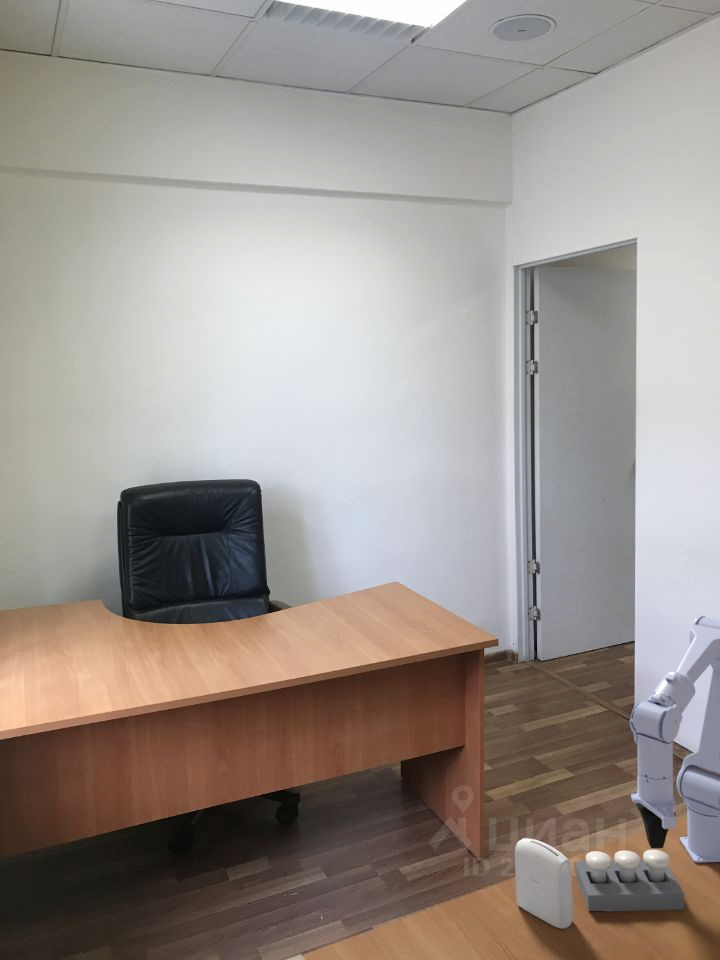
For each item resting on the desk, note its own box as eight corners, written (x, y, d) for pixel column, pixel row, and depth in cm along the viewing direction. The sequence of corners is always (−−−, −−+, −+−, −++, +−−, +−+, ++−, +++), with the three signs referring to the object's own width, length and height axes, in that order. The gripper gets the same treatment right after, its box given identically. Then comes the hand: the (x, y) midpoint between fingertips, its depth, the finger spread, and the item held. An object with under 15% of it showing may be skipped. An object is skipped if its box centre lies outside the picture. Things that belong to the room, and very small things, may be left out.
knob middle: (636, 870, 144) (635, 850, 144) (643, 885, 140) (643, 863, 140) (612, 871, 145) (611, 850, 144) (618, 885, 140) (618, 864, 140)
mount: (664, 874, 147) (664, 858, 147) (684, 909, 138) (684, 893, 137) (575, 876, 148) (574, 861, 148) (588, 912, 138) (588, 895, 138)
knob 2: (664, 869, 144) (664, 849, 144) (672, 884, 140) (672, 863, 140) (640, 870, 144) (640, 849, 144) (648, 885, 140) (647, 863, 140)
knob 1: (607, 871, 145) (607, 850, 144) (614, 885, 141) (613, 864, 140) (583, 872, 145) (583, 851, 144) (589, 886, 141) (589, 865, 140)
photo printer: (512, 905, 141) (510, 837, 140) (528, 894, 144) (526, 828, 142) (561, 933, 133) (559, 862, 132) (577, 922, 136) (575, 852, 134)
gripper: (619, 753, 147) (620, 824, 149) (644, 793, 133) (645, 871, 135) (659, 752, 147) (659, 823, 149) (688, 791, 133) (689, 870, 134)
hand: (655, 846), depth 142 cm, fingers closed
